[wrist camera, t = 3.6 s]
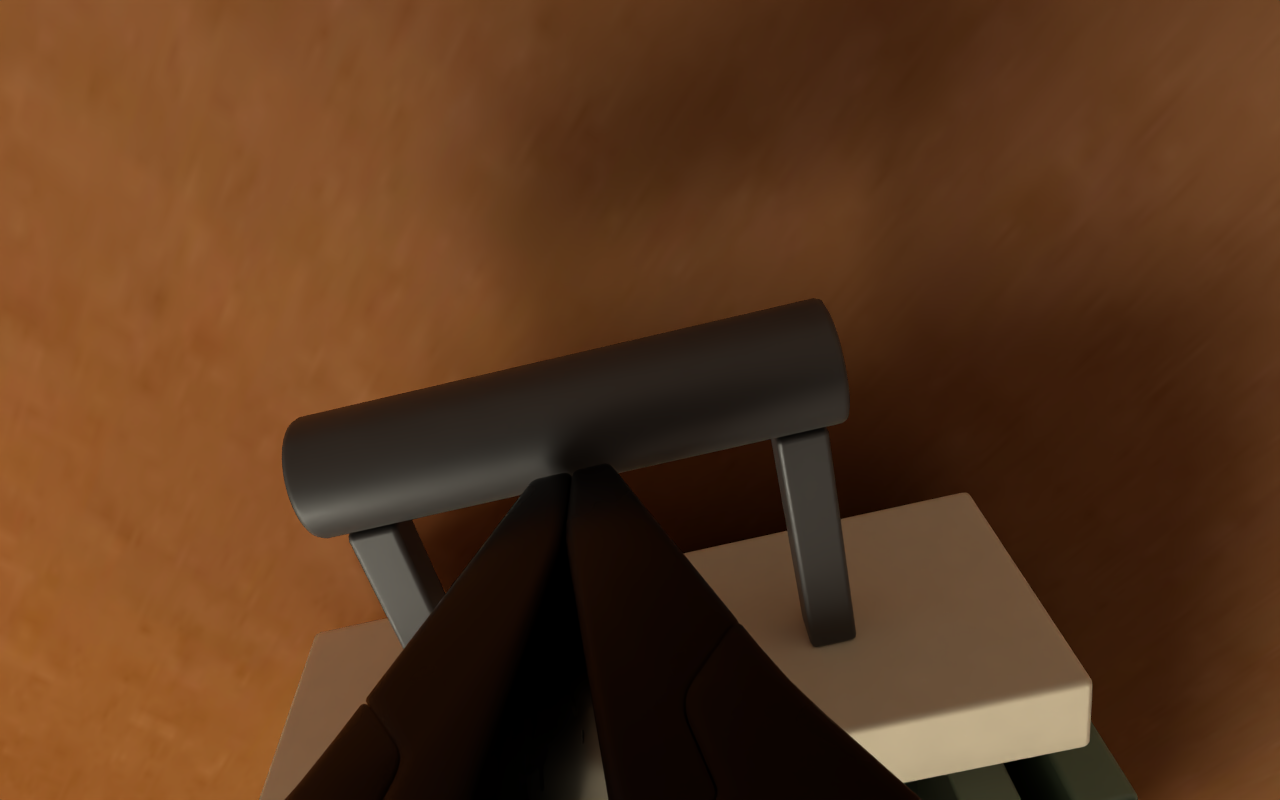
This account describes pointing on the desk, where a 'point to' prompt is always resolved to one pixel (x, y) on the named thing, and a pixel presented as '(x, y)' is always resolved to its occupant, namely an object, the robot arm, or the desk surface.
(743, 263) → the desk surface
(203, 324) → the desk surface
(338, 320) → the desk surface
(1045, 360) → the desk surface
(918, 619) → the drawer
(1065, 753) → the cabinet
